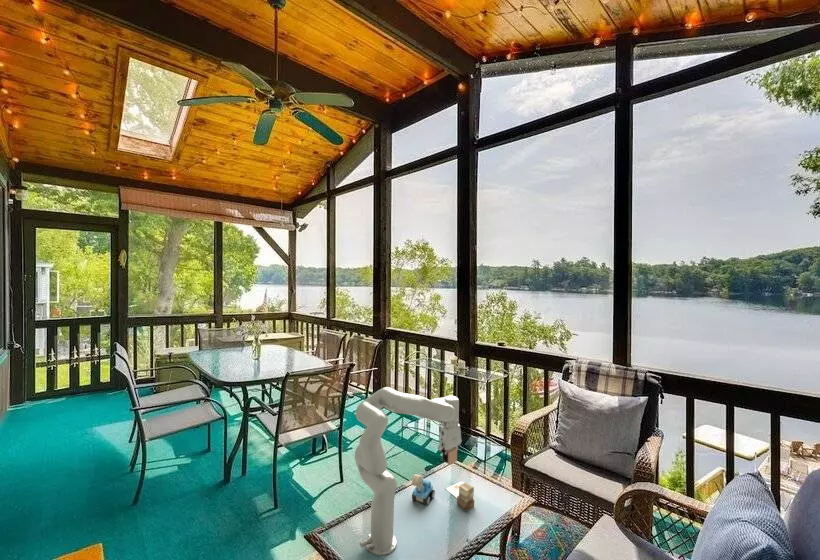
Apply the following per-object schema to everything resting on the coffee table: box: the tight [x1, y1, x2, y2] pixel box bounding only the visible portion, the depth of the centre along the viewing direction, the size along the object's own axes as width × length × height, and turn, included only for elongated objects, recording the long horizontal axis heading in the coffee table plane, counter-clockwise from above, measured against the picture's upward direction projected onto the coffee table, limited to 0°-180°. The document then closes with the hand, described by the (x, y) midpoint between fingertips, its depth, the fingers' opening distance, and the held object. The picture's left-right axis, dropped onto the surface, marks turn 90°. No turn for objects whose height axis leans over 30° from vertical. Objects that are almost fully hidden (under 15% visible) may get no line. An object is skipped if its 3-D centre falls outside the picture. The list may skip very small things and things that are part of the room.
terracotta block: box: [441, 447, 458, 465], centre depth 181 cm, size 5×5×6 cm
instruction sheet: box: [445, 480, 465, 499], centre depth 198 cm, size 12×9×1 cm
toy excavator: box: [411, 473, 436, 506], centre depth 186 cm, size 9×17×17 cm, turn 152°
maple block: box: [459, 481, 475, 503], centre depth 185 cm, size 5×5×6 cm
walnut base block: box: [456, 496, 475, 512], centre depth 185 cm, size 6×6×4 cm
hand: (449, 458), depth 181 cm, fingers closed on terracotta block, 5 cm apart
